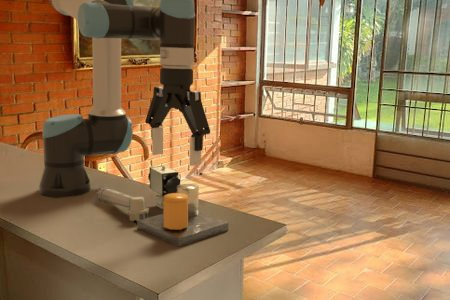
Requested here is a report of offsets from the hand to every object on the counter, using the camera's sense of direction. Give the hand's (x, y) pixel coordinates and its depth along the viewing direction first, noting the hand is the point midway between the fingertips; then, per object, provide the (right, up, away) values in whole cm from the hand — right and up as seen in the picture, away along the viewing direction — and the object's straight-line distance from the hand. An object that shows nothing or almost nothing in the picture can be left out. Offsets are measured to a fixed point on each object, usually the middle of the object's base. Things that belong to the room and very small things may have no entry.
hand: (175, 159), depth 115 cm
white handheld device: (-17, -15, +21) cm, 31 cm away
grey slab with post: (+1, -18, +8) cm, 19 cm away
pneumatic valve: (-5, -14, +25) cm, 29 cm away
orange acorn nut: (0, -16, +3) cm, 16 cm away
